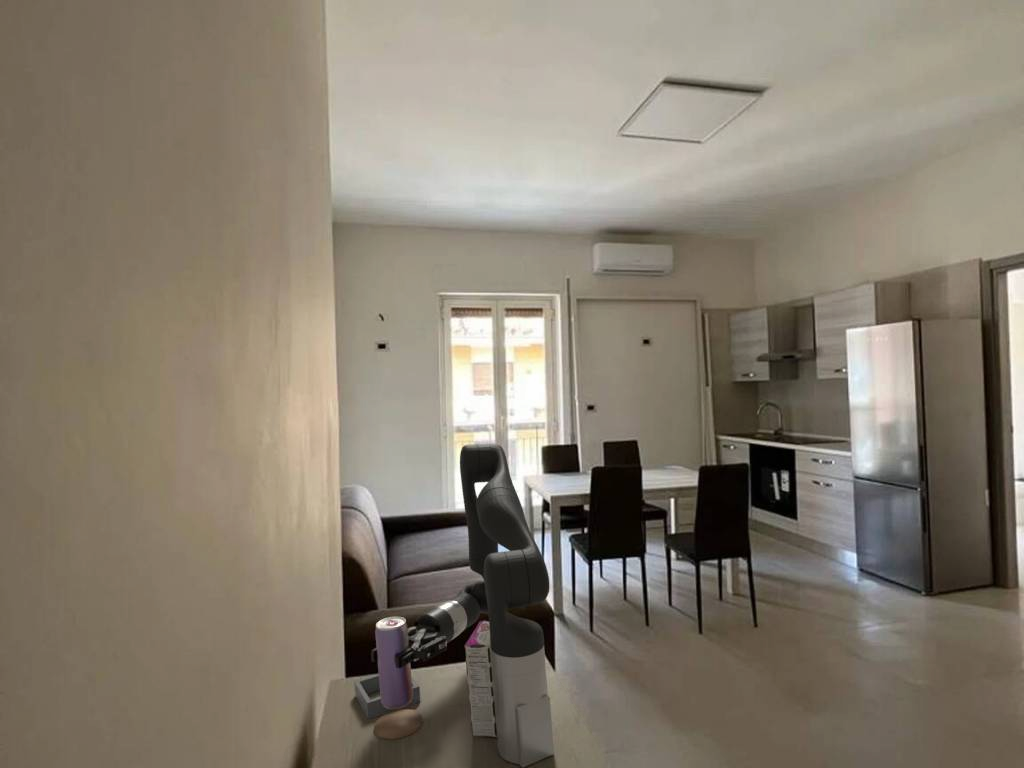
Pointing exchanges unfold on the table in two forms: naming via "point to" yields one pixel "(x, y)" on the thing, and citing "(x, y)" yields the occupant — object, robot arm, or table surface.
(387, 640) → the beverage can
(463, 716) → the table surface
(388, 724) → the coaster
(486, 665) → the candy bar box
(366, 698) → the square frame
